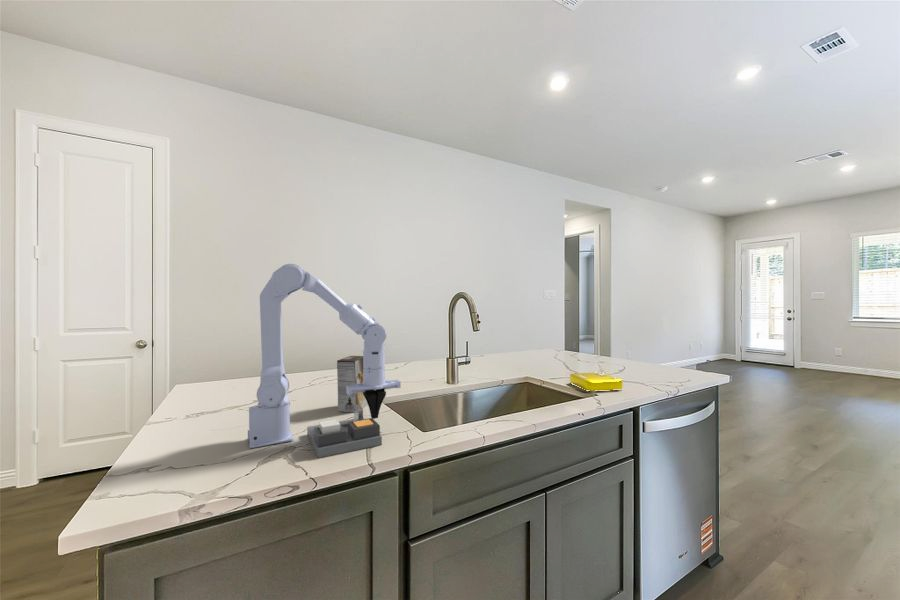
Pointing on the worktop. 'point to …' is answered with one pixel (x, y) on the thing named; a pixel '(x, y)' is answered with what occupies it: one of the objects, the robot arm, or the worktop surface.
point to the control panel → (344, 438)
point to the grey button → (329, 426)
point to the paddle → (358, 412)
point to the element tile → (596, 381)
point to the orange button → (362, 423)
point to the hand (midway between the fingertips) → (374, 417)
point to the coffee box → (350, 382)
